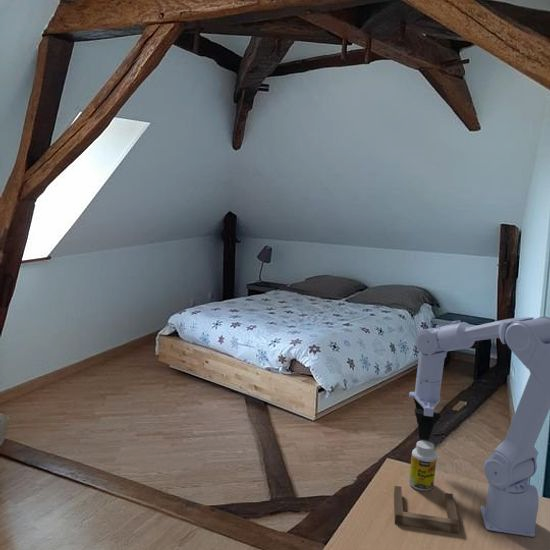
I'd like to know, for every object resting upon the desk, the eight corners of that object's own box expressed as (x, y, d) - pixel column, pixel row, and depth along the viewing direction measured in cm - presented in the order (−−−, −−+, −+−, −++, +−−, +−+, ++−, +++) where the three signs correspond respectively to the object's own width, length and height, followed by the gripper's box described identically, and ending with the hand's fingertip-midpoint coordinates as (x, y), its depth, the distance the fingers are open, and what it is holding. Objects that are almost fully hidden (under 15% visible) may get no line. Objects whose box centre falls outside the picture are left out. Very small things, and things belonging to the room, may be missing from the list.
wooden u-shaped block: (451, 502, 126) (452, 493, 125) (458, 533, 115) (459, 524, 115) (393, 493, 128) (394, 485, 127) (394, 523, 117) (395, 514, 117)
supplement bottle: (413, 492, 129) (418, 450, 127) (405, 479, 134) (409, 438, 132) (437, 491, 130) (442, 450, 128) (427, 478, 135) (432, 438, 133)
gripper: (410, 364, 141) (404, 415, 144) (413, 387, 127) (406, 443, 130) (439, 368, 140) (433, 419, 143) (445, 391, 126) (438, 447, 129)
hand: (422, 431), depth 137 cm, fingers open, 7 cm apart
